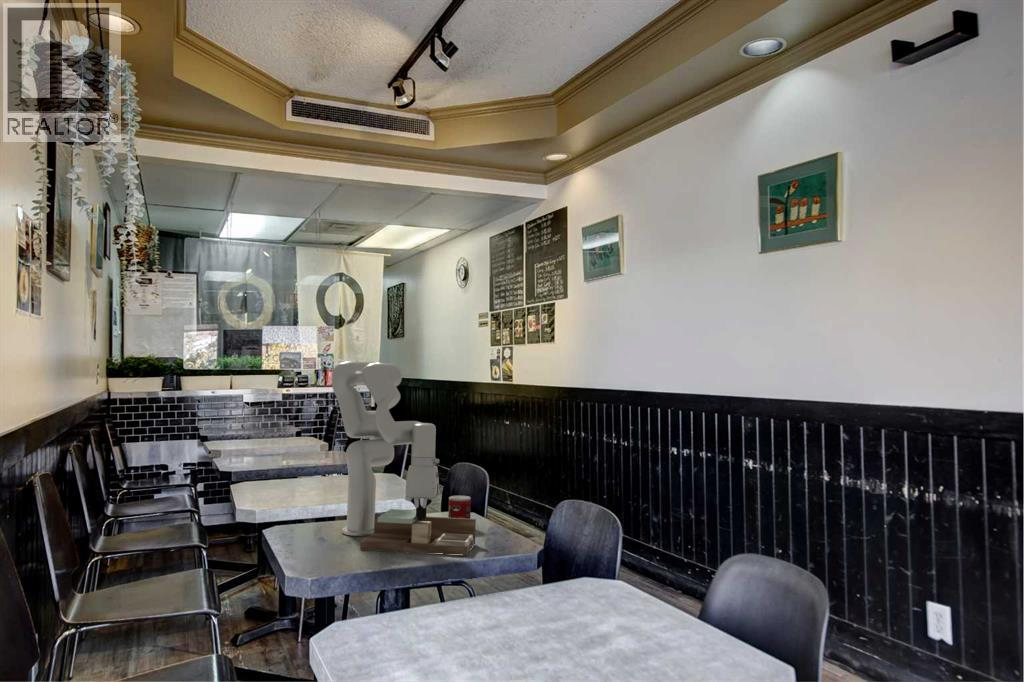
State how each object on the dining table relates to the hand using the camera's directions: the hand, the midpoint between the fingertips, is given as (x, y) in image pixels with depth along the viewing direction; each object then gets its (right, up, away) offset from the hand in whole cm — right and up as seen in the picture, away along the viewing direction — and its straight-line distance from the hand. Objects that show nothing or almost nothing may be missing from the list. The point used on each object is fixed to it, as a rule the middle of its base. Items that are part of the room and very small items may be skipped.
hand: (420, 519), depth 209 cm
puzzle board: (-1, -9, 0) cm, 9 cm away
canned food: (+10, -11, +28) cm, 32 cm away
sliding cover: (-7, 0, +2) cm, 7 cm away
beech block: (0, -9, -1) cm, 9 cm away
